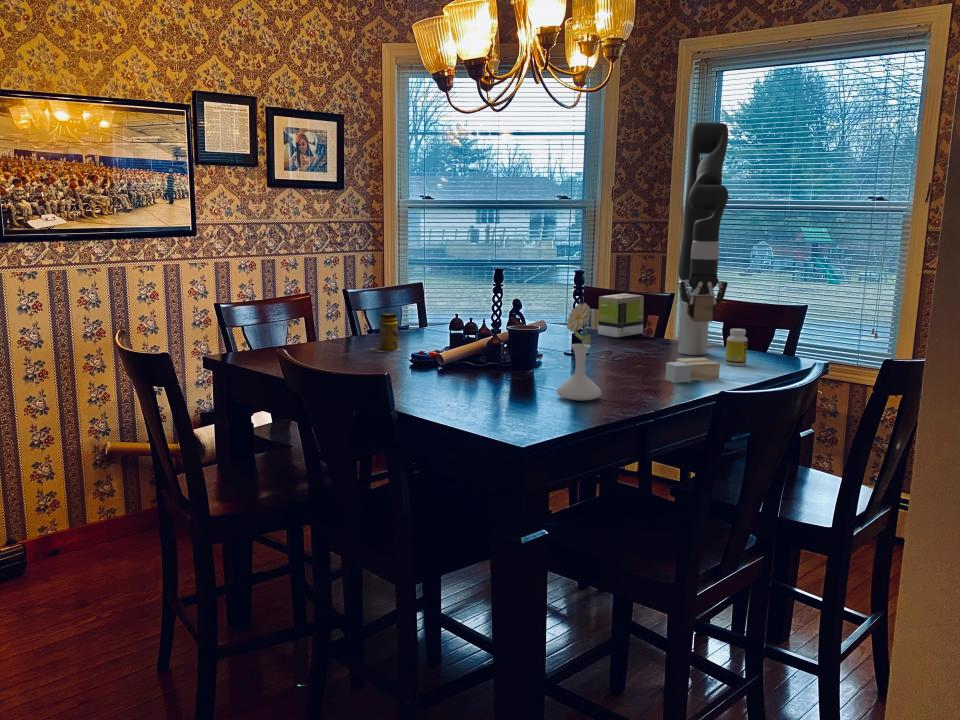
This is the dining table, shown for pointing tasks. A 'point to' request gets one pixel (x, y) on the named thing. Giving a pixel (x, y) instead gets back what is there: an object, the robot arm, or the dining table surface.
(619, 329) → the tea box
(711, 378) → the maple block
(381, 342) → the condiment
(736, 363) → the pill bottle
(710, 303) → the walnut block
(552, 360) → the dining table surface
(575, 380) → the flower in vase
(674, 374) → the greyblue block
